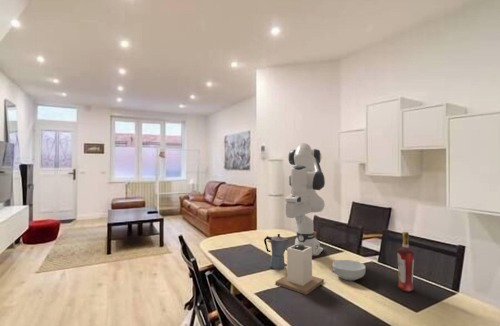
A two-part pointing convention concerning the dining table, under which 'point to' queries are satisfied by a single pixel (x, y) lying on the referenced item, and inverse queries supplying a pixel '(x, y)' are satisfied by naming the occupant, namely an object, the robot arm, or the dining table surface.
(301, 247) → the dark-topped thin piece
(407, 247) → the liquor
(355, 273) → the cereal bowl
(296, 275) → the hollow square stand
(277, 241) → the moka pot
